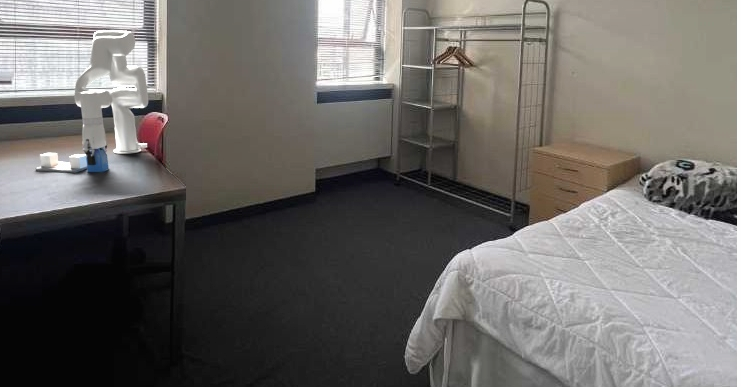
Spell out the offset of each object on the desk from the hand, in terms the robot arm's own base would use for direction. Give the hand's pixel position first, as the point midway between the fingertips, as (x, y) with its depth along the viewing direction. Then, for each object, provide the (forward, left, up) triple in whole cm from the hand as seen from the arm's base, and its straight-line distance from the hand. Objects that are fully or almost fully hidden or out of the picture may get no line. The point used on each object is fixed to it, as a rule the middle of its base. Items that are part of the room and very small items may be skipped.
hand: (97, 162), depth 229 cm
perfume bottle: (0, 0, -4) cm, 4 cm away
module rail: (+13, -9, -3) cm, 16 cm away
